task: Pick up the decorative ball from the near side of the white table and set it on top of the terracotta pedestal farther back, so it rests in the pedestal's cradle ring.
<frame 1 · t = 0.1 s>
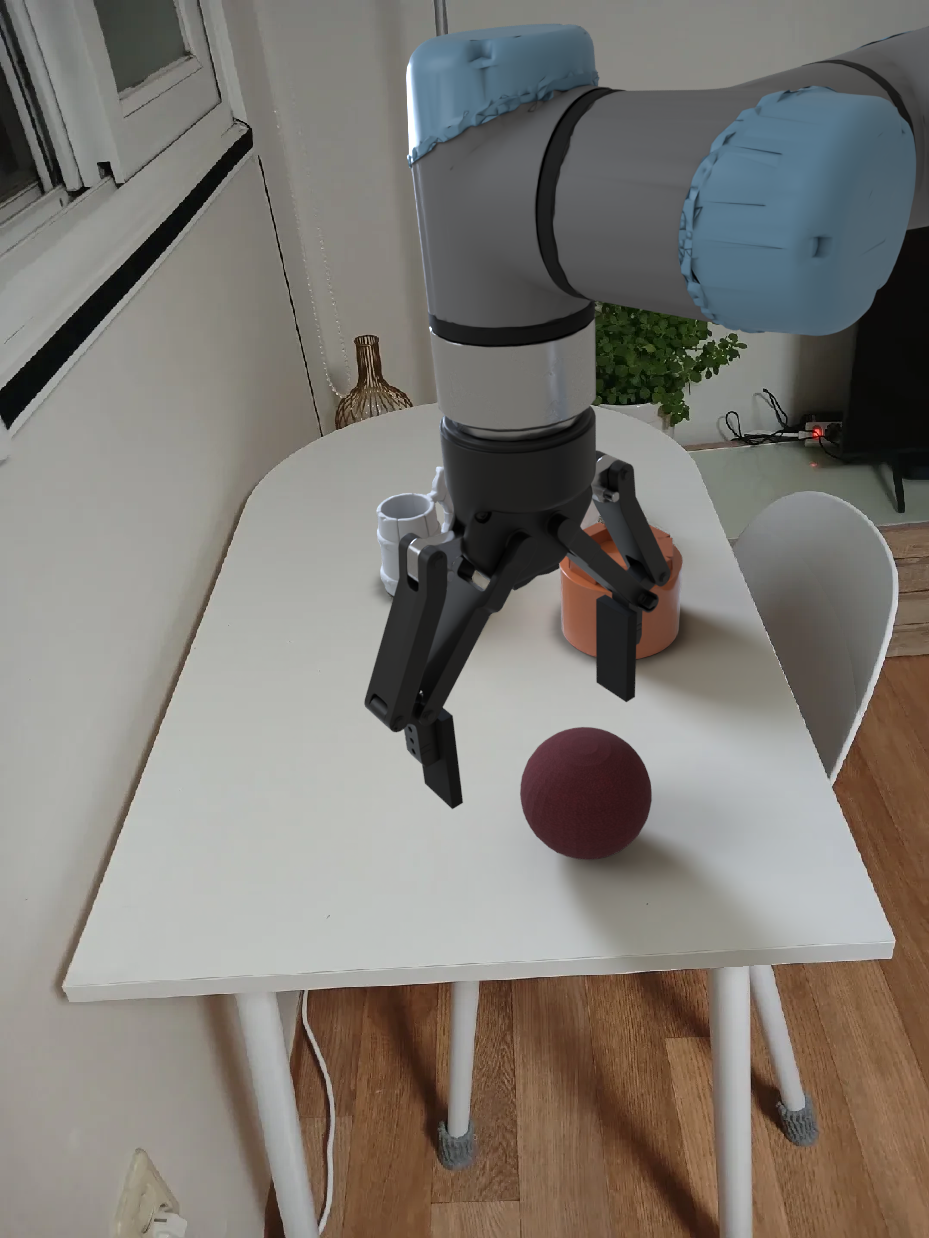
hand: (534, 739, 58), 19 cm above the table, tool pointing down, fingers open, 13 cm apart
perfume bottle: (572, 533, 115), on the table
pedestal: (619, 624, 99), on the table
mug: (428, 576, 110), on the table
decorative ball: (586, 838, 76), on the table
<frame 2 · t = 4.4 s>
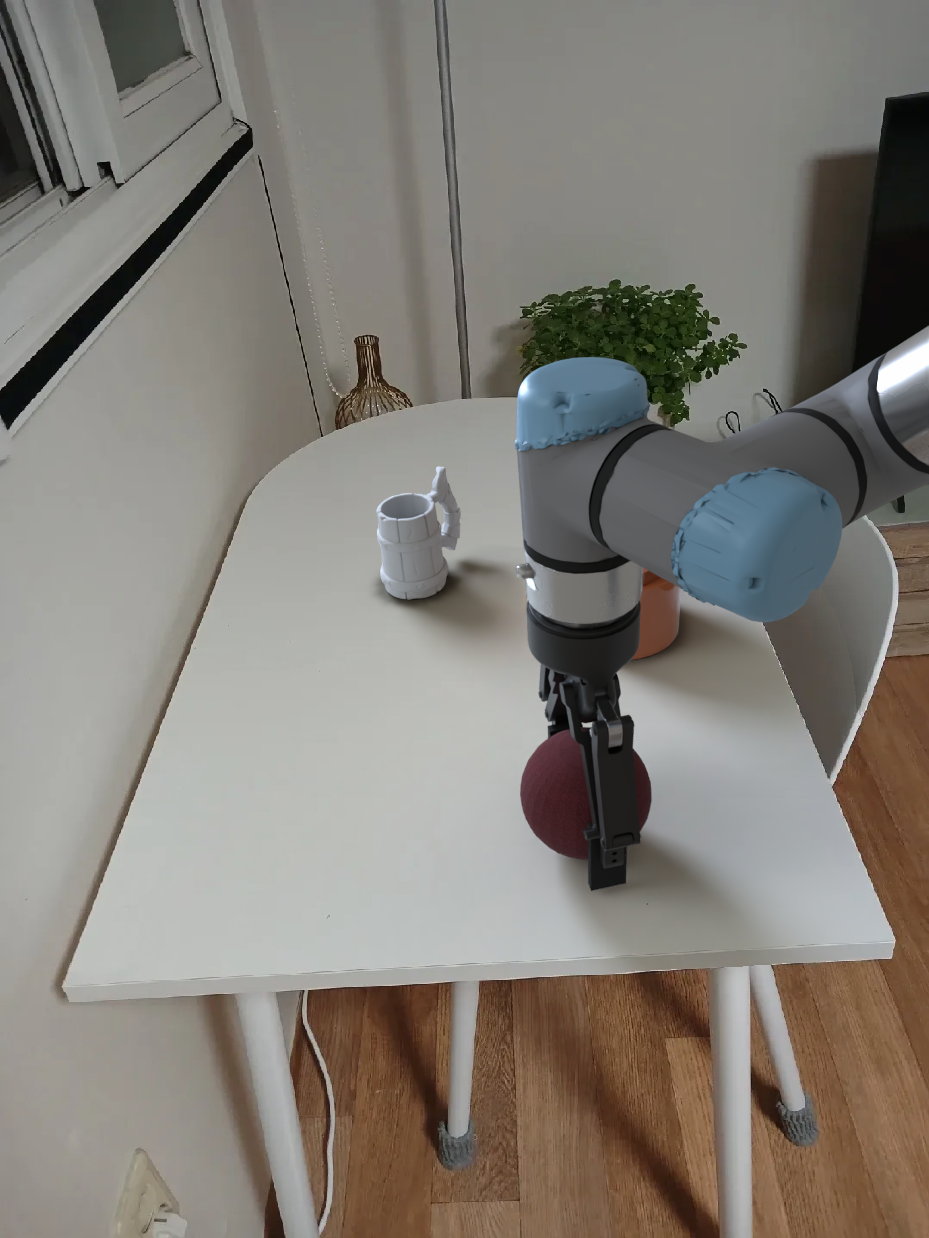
hand: (585, 830, 75), 1 cm above the table, tool pointing down, fingers closed on decorative ball, 10 cm apart
decorative ball: (585, 838, 76), on the table, touching gripper
everything else where it was.
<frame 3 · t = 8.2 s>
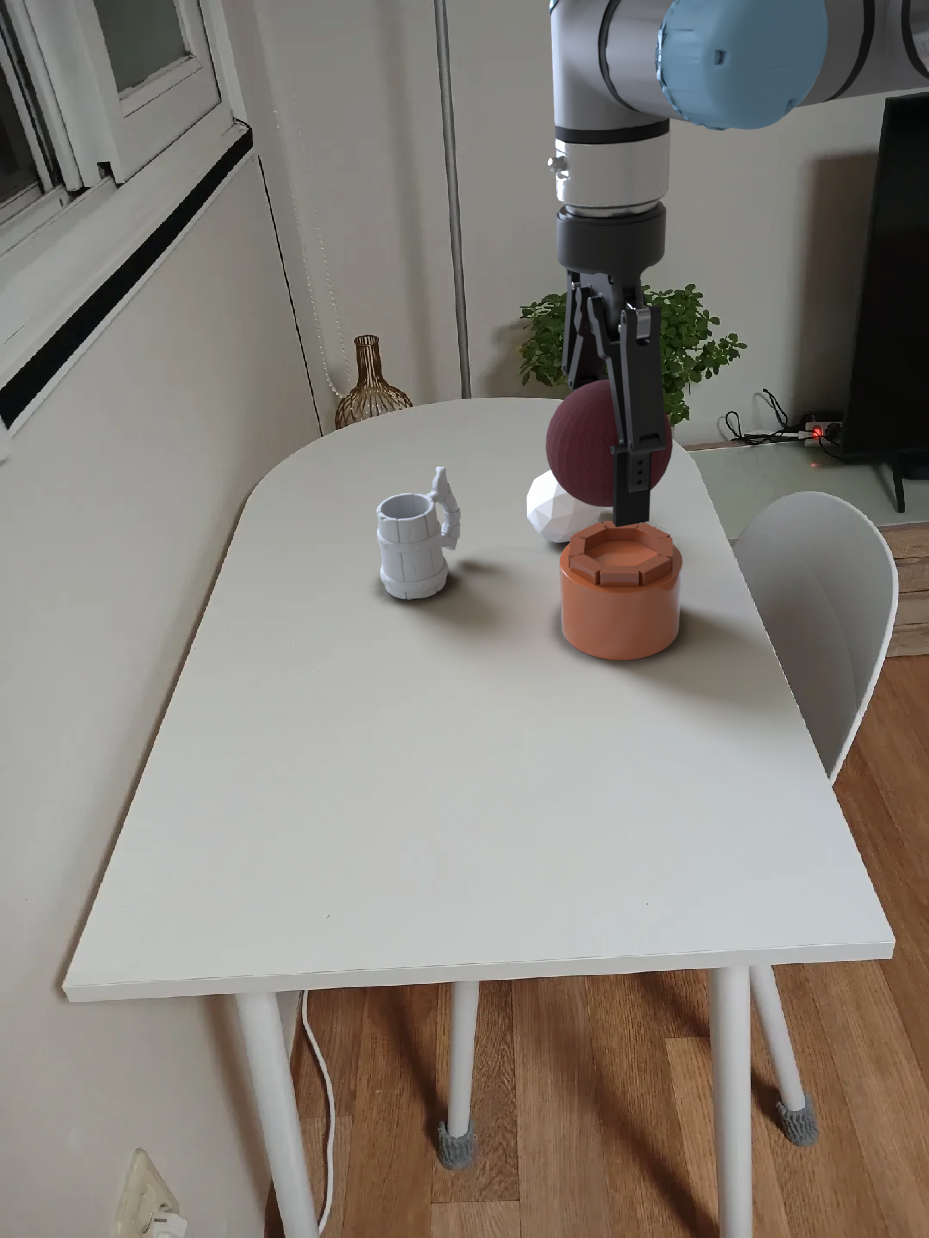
hand: (608, 491, 78), 21 cm above the table, tool pointing down, fingers closed on decorative ball, 10 cm apart
decorative ball: (608, 501, 79), point 20 cm above the table, touching gripper
everything else where it was.
when the fingers open (10 cm above the table, at t = 12.1 s): decorative ball stays where it is, resting on pedestal.
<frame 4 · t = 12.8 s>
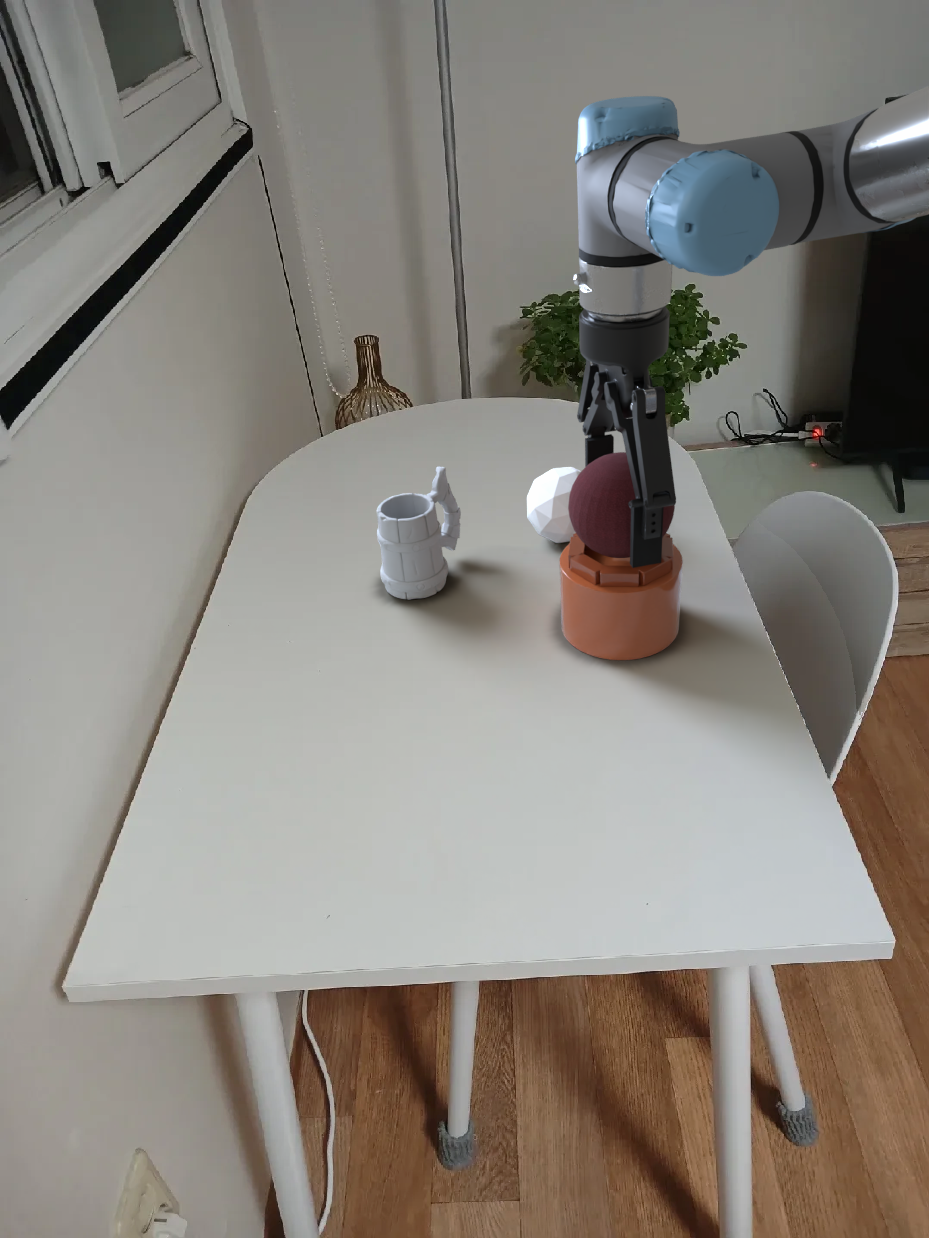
hand: (621, 528, 92), 12 cm above the table, tool pointing down, fingers open, 13 cm apart
decorative ball: (620, 552, 94), point 9 cm above the table, touching pedestal
everything else where it was.
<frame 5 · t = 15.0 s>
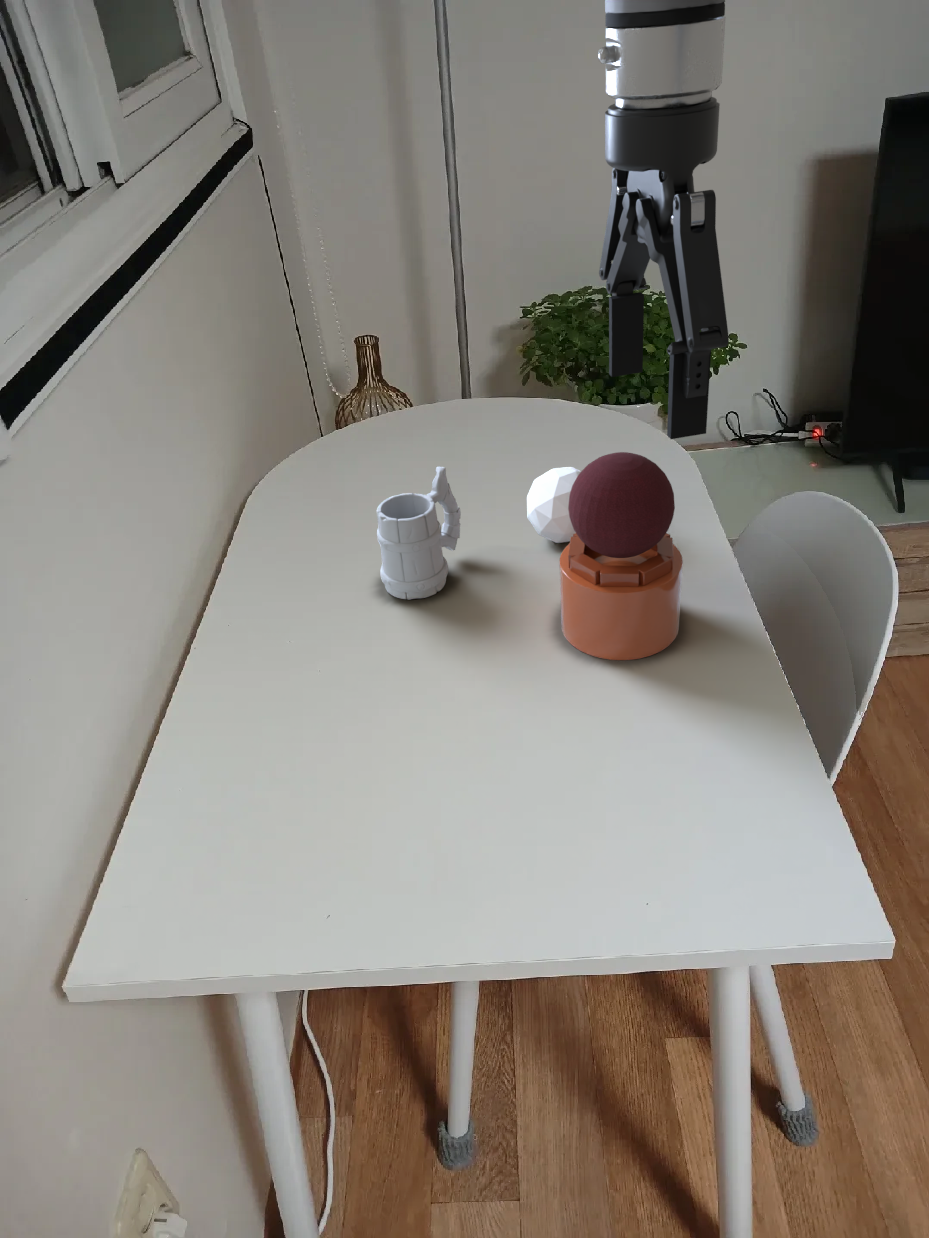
hand: (653, 402, 75), 28 cm above the table, tool pointing down, fingers open, 13 cm apart
nothing on the table moved.
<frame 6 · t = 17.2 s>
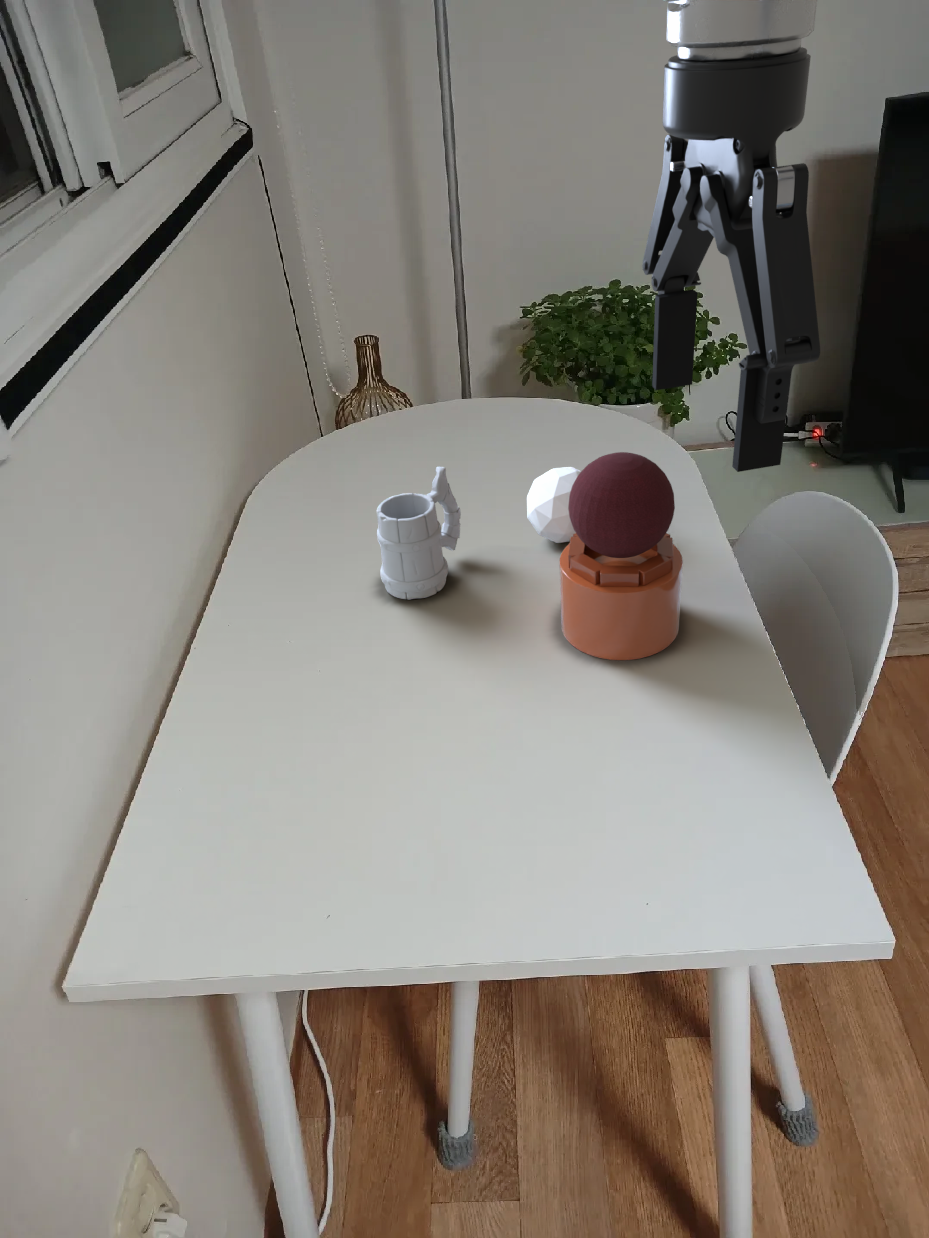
hand: (710, 422, 63), 32 cm above the table, tool pointing down, fingers open, 13 cm apart
nothing on the table moved.
at the end: decorative ball 0.0 cm off-centre on the pedestal, point 8.8 cm above the pedestal's base; the gripper is holding nothing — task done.
